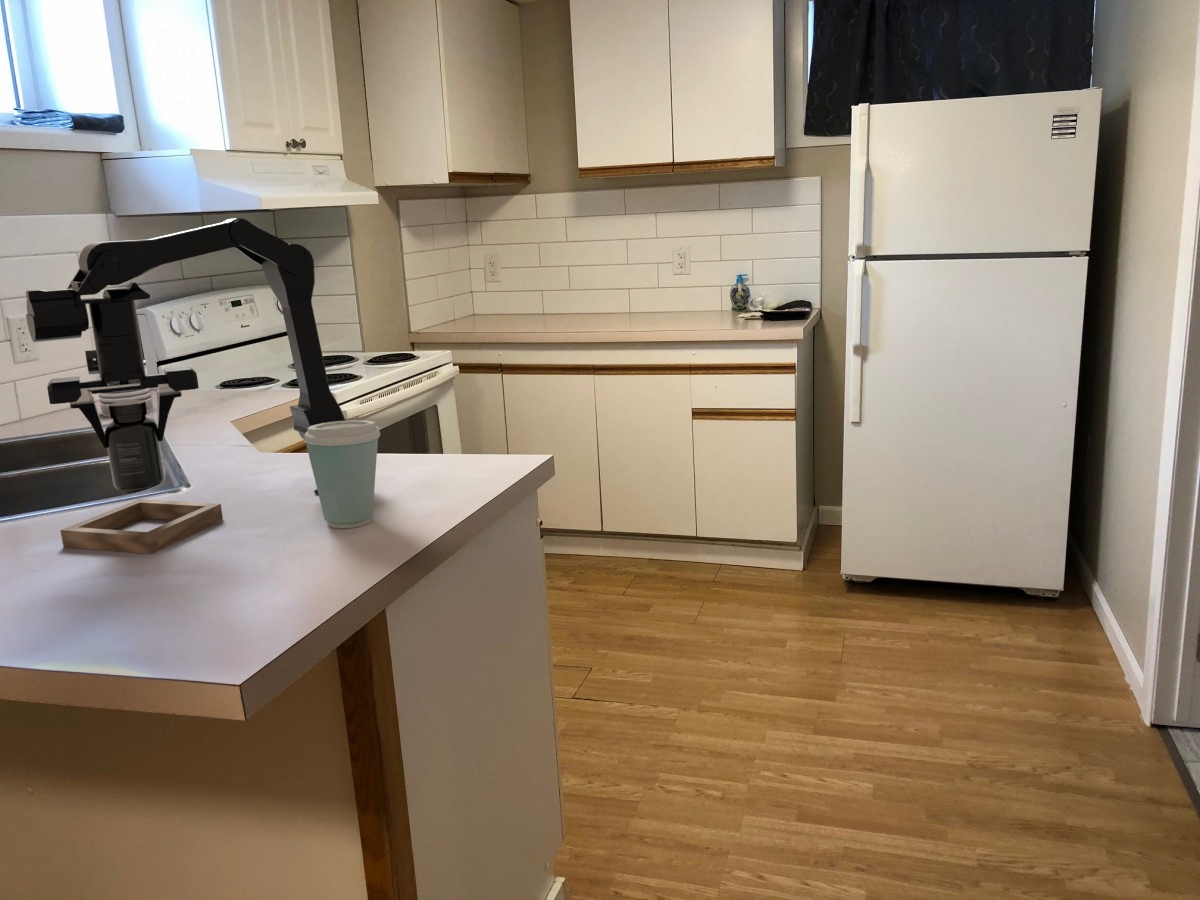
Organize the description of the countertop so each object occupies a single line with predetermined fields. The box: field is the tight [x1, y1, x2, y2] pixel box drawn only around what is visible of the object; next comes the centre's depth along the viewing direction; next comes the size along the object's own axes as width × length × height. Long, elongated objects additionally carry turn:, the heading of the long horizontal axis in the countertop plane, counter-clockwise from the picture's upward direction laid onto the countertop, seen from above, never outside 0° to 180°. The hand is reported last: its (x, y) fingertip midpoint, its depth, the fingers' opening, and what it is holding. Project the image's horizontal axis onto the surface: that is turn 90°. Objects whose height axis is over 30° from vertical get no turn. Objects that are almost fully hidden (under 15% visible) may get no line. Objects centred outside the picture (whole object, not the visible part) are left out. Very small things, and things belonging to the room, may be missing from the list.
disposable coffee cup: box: [303, 419, 381, 529], centre depth 141 cm, size 11×11×15 cm
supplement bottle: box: [104, 400, 166, 491], centre depth 139 cm, size 7×7×12 cm
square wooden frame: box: [59, 498, 224, 555], centre depth 141 cm, size 15×15×2 cm
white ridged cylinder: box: [94, 359, 154, 418], centre depth 235 cm, size 11×11×12 cm
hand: (133, 444), depth 139 cm, fingers closed on supplement bottle, 7 cm apart
